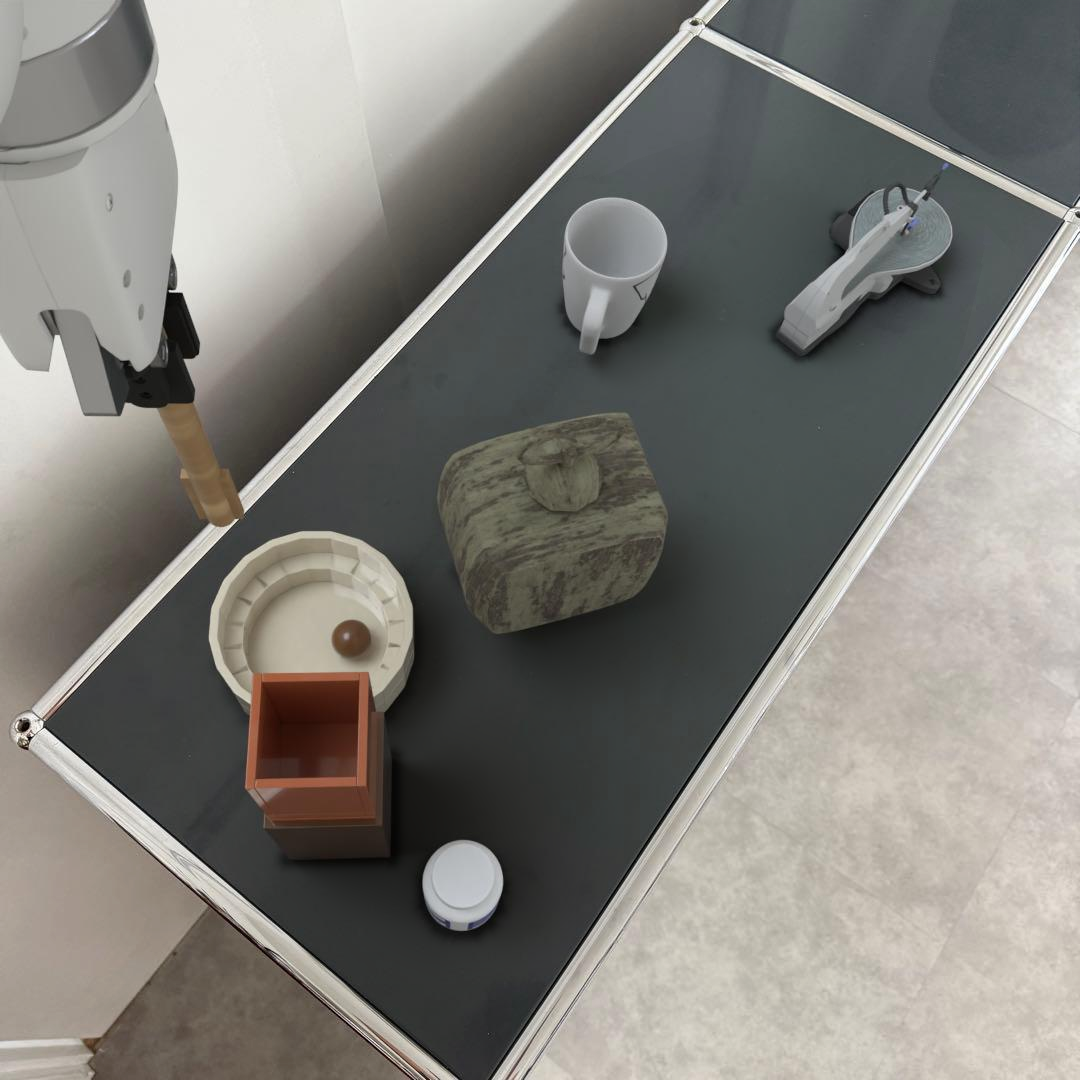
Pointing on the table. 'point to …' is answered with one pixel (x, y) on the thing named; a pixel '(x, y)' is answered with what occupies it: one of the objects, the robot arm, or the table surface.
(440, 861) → the pill bottle
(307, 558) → the bowl
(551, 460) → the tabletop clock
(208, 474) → the stirring stick
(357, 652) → the brown ball
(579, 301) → the mug
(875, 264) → the jigsaw machine
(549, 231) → the table surface
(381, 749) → the brown boxy piece
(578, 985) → the table surface
